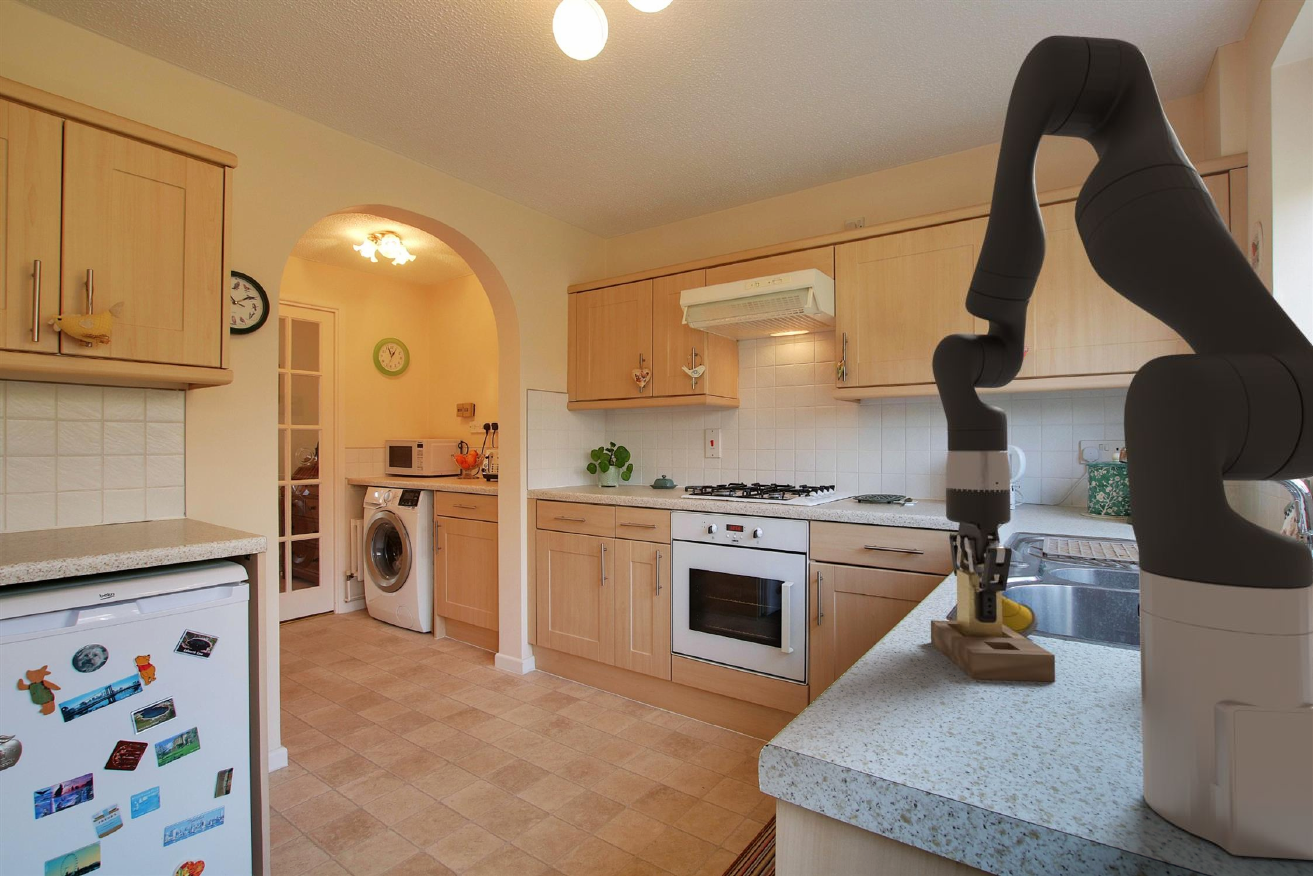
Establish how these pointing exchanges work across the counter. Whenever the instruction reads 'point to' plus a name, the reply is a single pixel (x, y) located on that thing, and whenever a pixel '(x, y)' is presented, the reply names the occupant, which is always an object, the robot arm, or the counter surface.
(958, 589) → the tan square peg
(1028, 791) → the counter surface
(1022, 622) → the drill bit
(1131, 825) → the counter surface
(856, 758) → the counter surface
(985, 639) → the bore block
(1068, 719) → the counter surface
